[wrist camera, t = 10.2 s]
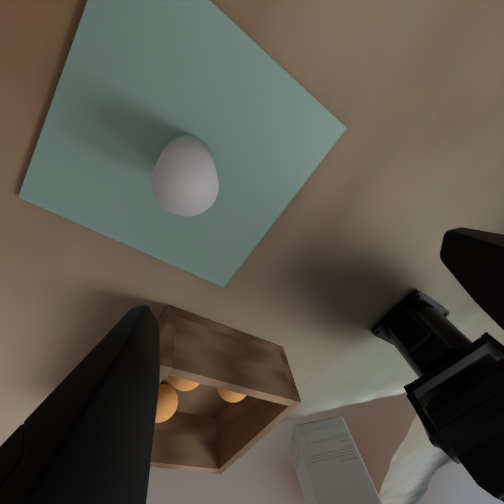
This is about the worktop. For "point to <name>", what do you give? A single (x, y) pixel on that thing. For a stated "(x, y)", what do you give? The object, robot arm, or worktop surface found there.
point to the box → (208, 399)
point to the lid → (175, 135)
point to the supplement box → (330, 464)
